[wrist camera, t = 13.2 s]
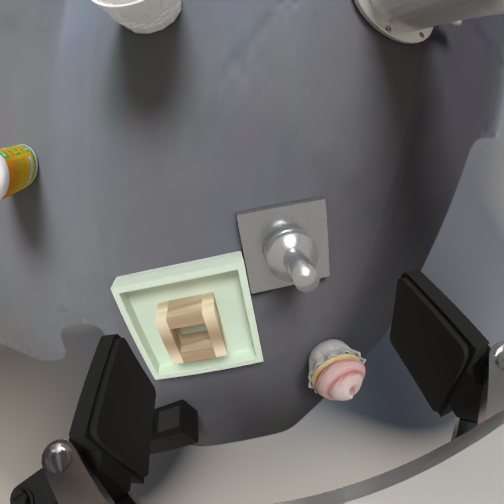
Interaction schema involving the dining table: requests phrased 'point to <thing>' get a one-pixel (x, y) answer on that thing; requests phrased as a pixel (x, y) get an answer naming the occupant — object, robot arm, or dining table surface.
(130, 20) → the white cup
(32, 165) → the supplement bottle
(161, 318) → the wooden square frame
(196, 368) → the tray
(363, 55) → the dining table surface
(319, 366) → the cupcake
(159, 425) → the digital camera
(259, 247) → the grey stand
